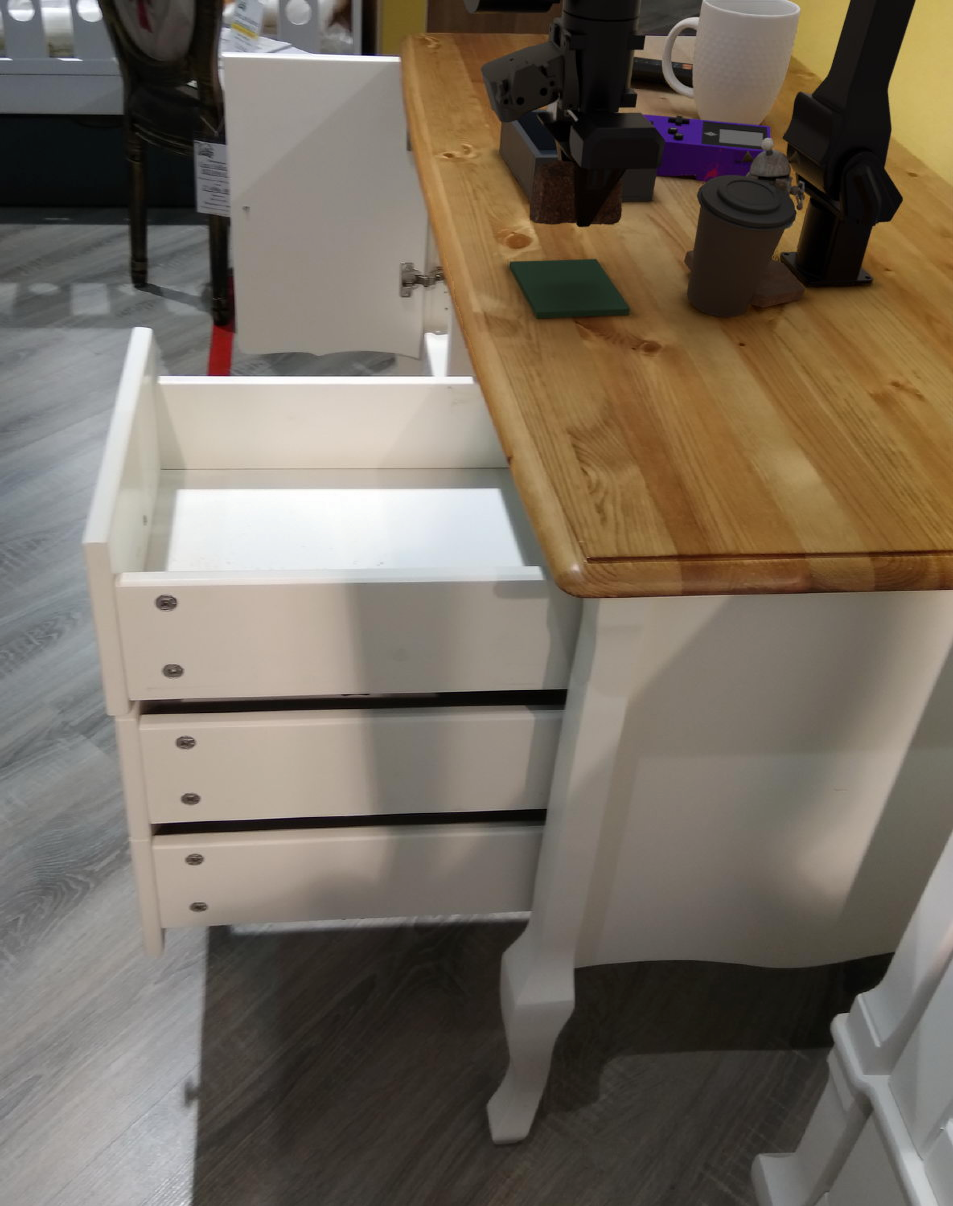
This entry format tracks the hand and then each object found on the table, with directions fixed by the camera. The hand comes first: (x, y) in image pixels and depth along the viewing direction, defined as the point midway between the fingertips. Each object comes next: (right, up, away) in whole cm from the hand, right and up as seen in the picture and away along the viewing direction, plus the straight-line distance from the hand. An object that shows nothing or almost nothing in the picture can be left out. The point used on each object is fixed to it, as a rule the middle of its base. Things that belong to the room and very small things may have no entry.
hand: (577, 218), depth 96 cm
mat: (0, -5, +4) cm, 6 cm away
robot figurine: (+15, -3, +7) cm, 17 cm away
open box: (+2, +13, +26) cm, 29 cm away
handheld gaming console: (+15, +15, +31) cm, 38 cm away
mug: (+21, +26, +43) cm, 54 cm away
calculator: (+15, +36, +55) cm, 68 cm away
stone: (0, -1, +1) cm, 1 cm away
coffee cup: (+12, -6, +4) cm, 14 cm away
